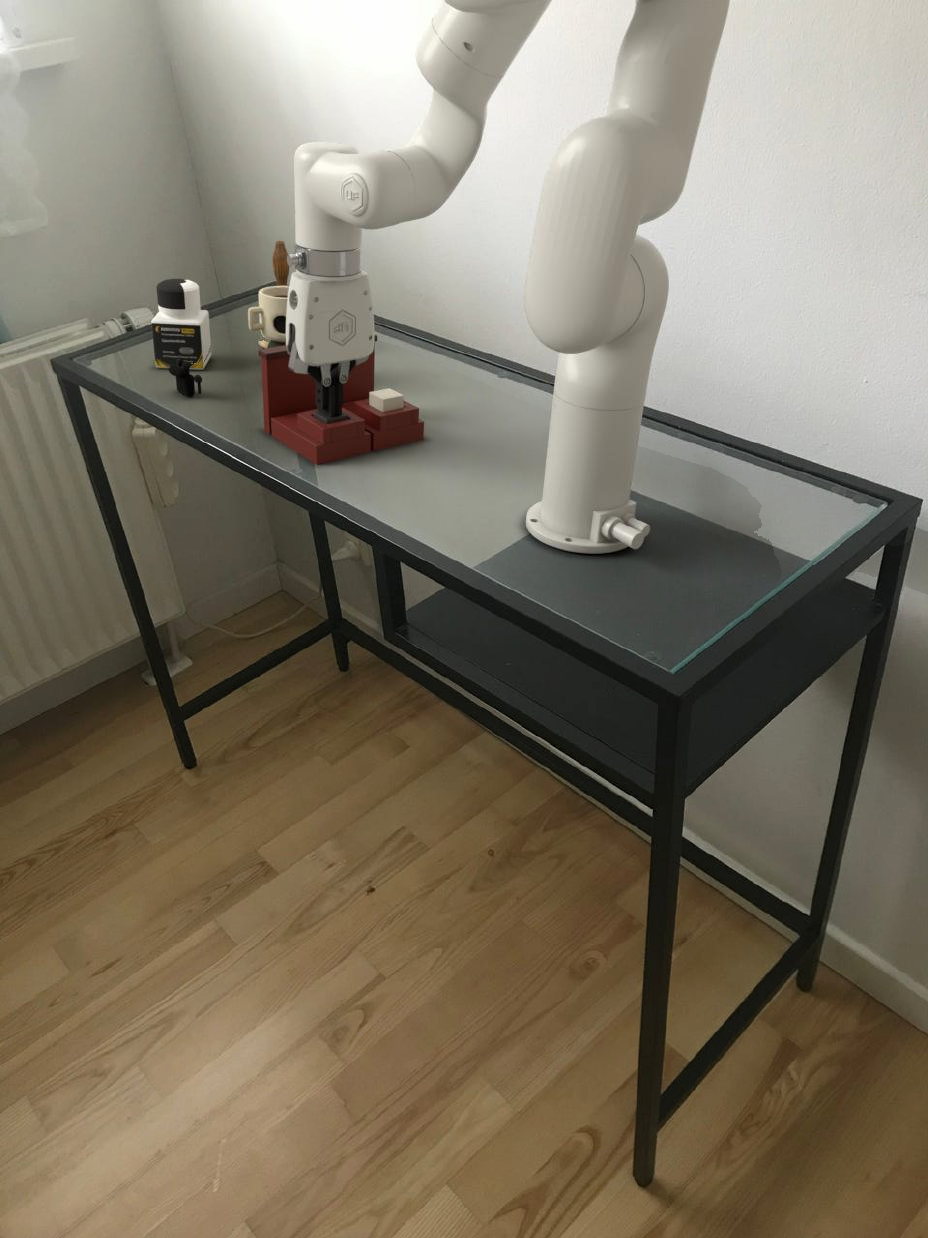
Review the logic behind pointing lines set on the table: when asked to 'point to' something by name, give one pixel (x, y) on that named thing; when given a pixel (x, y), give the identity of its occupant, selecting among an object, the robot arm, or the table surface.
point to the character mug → (271, 315)
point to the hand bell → (279, 271)
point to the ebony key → (329, 420)
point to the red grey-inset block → (322, 436)
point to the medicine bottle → (180, 325)
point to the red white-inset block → (388, 424)
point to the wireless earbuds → (185, 378)
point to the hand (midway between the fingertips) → (329, 412)
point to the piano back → (304, 385)
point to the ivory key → (386, 400)
